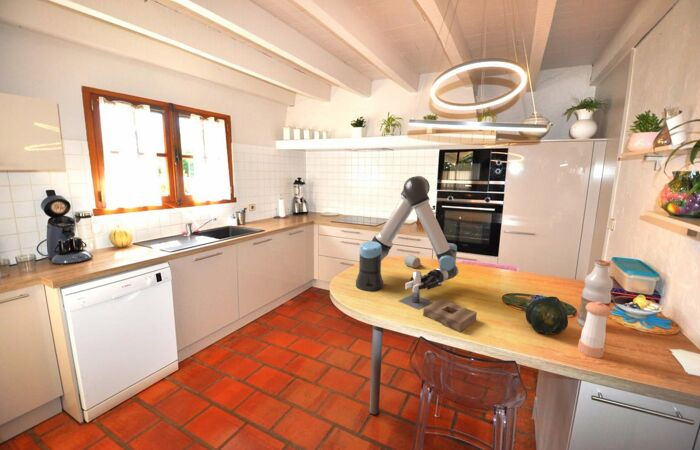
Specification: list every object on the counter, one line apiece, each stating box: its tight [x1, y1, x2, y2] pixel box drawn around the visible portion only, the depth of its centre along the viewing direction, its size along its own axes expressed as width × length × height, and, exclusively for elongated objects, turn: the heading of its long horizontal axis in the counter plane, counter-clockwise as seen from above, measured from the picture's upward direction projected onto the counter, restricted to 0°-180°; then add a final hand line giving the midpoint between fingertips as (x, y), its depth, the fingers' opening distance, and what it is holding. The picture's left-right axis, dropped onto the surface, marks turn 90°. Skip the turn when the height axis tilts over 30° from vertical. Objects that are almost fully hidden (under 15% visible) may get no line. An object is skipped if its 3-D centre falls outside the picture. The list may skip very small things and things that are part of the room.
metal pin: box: [411, 270, 422, 303], centre depth 145 cm, size 4×4×15 cm
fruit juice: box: [577, 259, 614, 328], centre depth 125 cm, size 9×9×28 cm
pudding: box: [531, 294, 546, 302], centre depth 144 cm, size 12×12×5 cm
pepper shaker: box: [577, 302, 612, 359], centre depth 107 cm, size 7×7×19 cm
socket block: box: [422, 298, 478, 333], centre depth 131 cm, size 17×14×4 cm
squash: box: [524, 296, 569, 335], centre depth 122 cm, size 14×15×15 cm
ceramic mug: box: [404, 253, 422, 269], centre depth 199 cm, size 11×8×8 cm
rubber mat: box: [398, 294, 434, 311], centre depth 146 cm, size 12×12×1 cm
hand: (409, 287), depth 141 cm, fingers closed on metal pin, 3 cm apart
